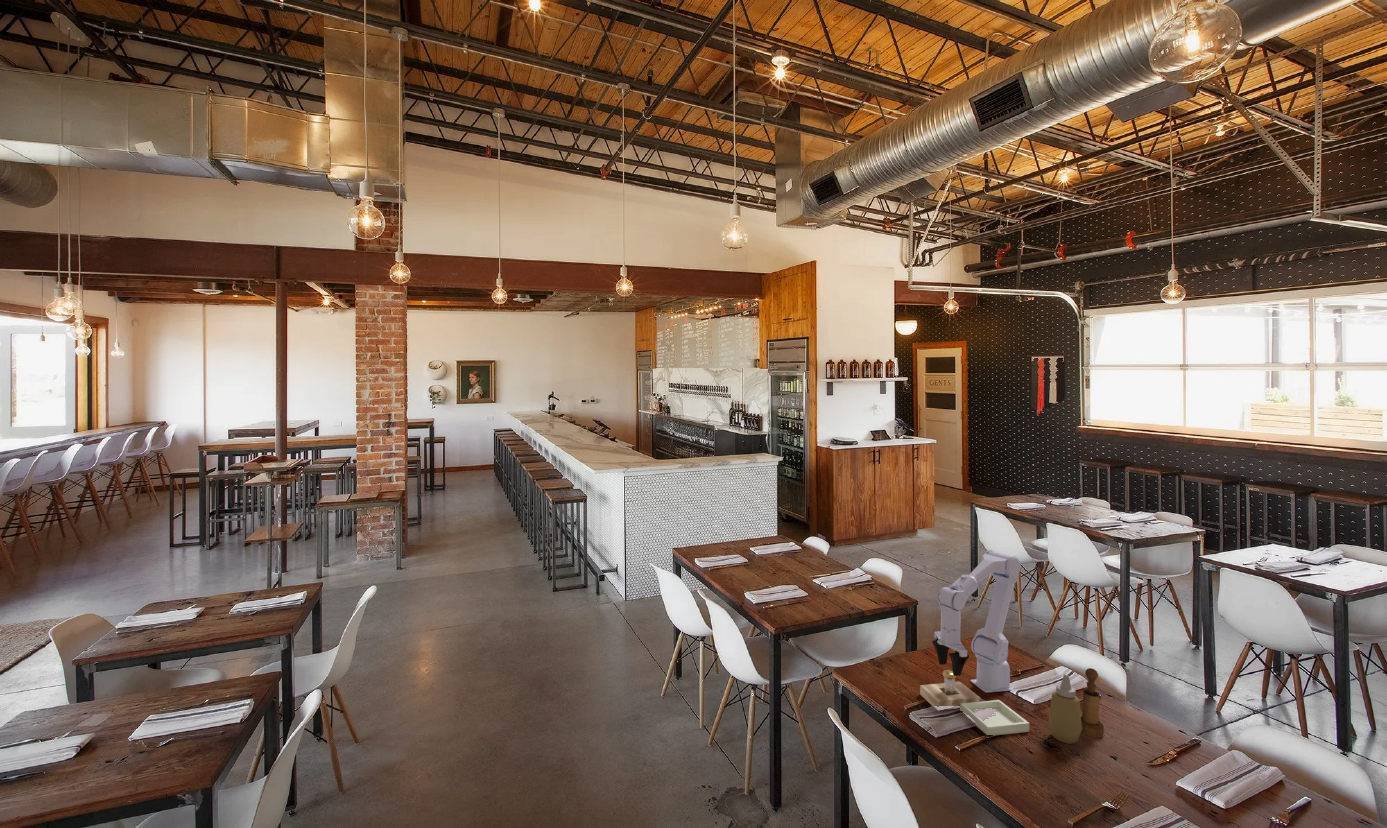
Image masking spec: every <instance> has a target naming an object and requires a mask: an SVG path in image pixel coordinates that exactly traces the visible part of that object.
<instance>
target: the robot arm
mask: <svg viewBox="0 0 1387 828" xmlns="http://www.w3.org/2000/svg"><path fill="white" fill-rule="evenodd" d="M1021 567H1022V565H1021V562H1020V561H1019V558H1018V557H1017V556H1015V555H1009V554H1006V553H1002V552H999V551H998V552H997V551H994V549H993V550H992V549H989V550H986V551H985V553H984V554H982V556H981V561H980V563H979V564H978V565H977V566H976V567H975V568H974V569H973V570H972V571H971V572H970V573H969V574H962V575H960V577H958V578H957V579H956V580H955V581H954V582H953V583H951V584H950V585H949V586H944V587H942V588H940V589H939V591H938V593H937V596H936V601H937V603H938V606H939V608H938V609H939V610H940V631H939V630H938V631H934V638H935V640H932V645H933V647H934V649H935V652H936V656H937V660H938V664H939V665H941V666H942V665H943V666H944V665H947V662H948V656H949V658H950V661H951V668H952V669H951V671H953V675H954V676H957V677H960V676H962V672H963V669H964V666H965V665H966V662H967V661H968V659H970V655H969V654H968V649H966V648H965V646H964V645H963V643H962V642H961V630H962V629H961V628H962V627H961V624H962V623H961V620H962V619H961V617H962V609H964V608H965V605H966V603H967V601H968V598H969V597H970V596H971V595H973V593H975V592H976V591H977V590H978V587H979V585H978V584H979V583H981V582H982V581H983V580H985V579H986V578H988V577H989V576H990V575H991V576H993V578H994V579H995V581H996V582H995V586H994V590H993V593H992V597H991V602H990V605H989V608H988V613H987V617H986V621H985V625H984V627H983V628H980V629H977V630H976V632H975V635H974V637H973V638H972V641H971V643H970V644H971V646H970V647H971V651H972V652H973V653H974V657H976V678H975V679H970V682H971V683H972V684H973V685H975V687H978V689H980V690H982V692H984V693H986V694H987V693H995V692H996V693H998V692H1008V691H1012V688H1011V686H1010V685H1011V681H1010V680H1011V668H1010V665H1009V662H1008V661H1007V658H1008V657H1009V643H1010V642H1009V641H1008V639H1007V638H1006V636H1005V635H1004V634H1003V631H1004V626H1005V623H1006V619H1007V615H1008V611H1009V607H1010V603H1011V599H1012V594H1013V592H1014V588H1015V583H1017V582H1018V578H1019V575H1020V571H1021ZM950 649H951V650H953V651H954V652H949V651H950ZM1010 688H1011V689H1010Z"/></svg>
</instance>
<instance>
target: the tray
mask: <svg viewBox="0 0 1387 828" xmlns="http://www.w3.org/2000/svg"><path fill="white" fill-rule="evenodd" d="M985 708H992V709H996V711H998V712H994V713H996V714H994V715H996V716H992V717H987V718H989V719H985V720H984V721H983V720H982V719H981V718H979V717H978V716H977V715H976V714H975V713H974V712H972V711H974V710H976V709H985ZM960 709H961V710H962V711H963V712H964V713H966V714H967V715H969V716H970V717H971V718H972V719H973V720H974V721H975V722H976V723H977V725H975V726H976V727H977V728H978V729H979V730H981V731H982V732H983V733H984V734H985V735H993V736H1000V735H1011V734H1019V733H1020V734H1021V733H1028V732H1030V722H1028V720H1026V719H1025V718H1024V717H1022V716H1021V715H1019V714H1018V713H1017V712H1016V711H1014V710H1013V709H1011V708H1010V707H1009V706H1008V705H1006V704H1005V703H1004V702H1003V701H1001V699H994V700H993V699H992V700H983V701H980V702H971V703H961V704H960ZM960 709H959V710H960ZM992 715H993V714H992Z"/></svg>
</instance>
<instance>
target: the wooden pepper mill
mask: <svg viewBox="0 0 1387 828" xmlns="http://www.w3.org/2000/svg"><path fill="white" fill-rule="evenodd" d="M1084 674H1085V677H1086V678H1087V680H1088V682H1087V683H1086V688H1087V689H1082V690H1083V691H1082V713H1081V724H1082V731H1081V734H1084V735H1086V736H1089V737H1092V738H1093V737H1094V738H1101V737H1103V736H1104V735H1105V734H1104V730H1105V726H1104V725H1103V723H1101V721H1100V720H1099V715H1100V700H1101V699H1100V697H1101V696H1100V693H1099V692H1097V691H1096V689H1097V684H1095V681H1096V680H1097V679H1098V677H1099V673H1098V671H1097V670H1096V669H1095V668H1092V667H1091V668H1090V667H1089V668H1086V669H1085V673H1084Z"/></svg>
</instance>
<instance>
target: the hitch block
mask: <svg viewBox="0 0 1387 828" xmlns="http://www.w3.org/2000/svg"><path fill="white" fill-rule="evenodd" d="M919 688H920V689H919V695H920V696H921V697H922V698H923V699H924V700H926V701H927V703H929V704H930V705H931V706H932V707H933V706H937V707H939V706H960V704H961V703H971V702H981V700H980V699H981V697H980V696H979V695H977V694H976V693H975V692H974V691H972V690H971V689H970V688H969V687H968V686H967V685H965V684H964V683H963V682H961V681H955V695H946V694H945V693H944V682H942V683H929V684H920V685H919Z"/></svg>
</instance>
